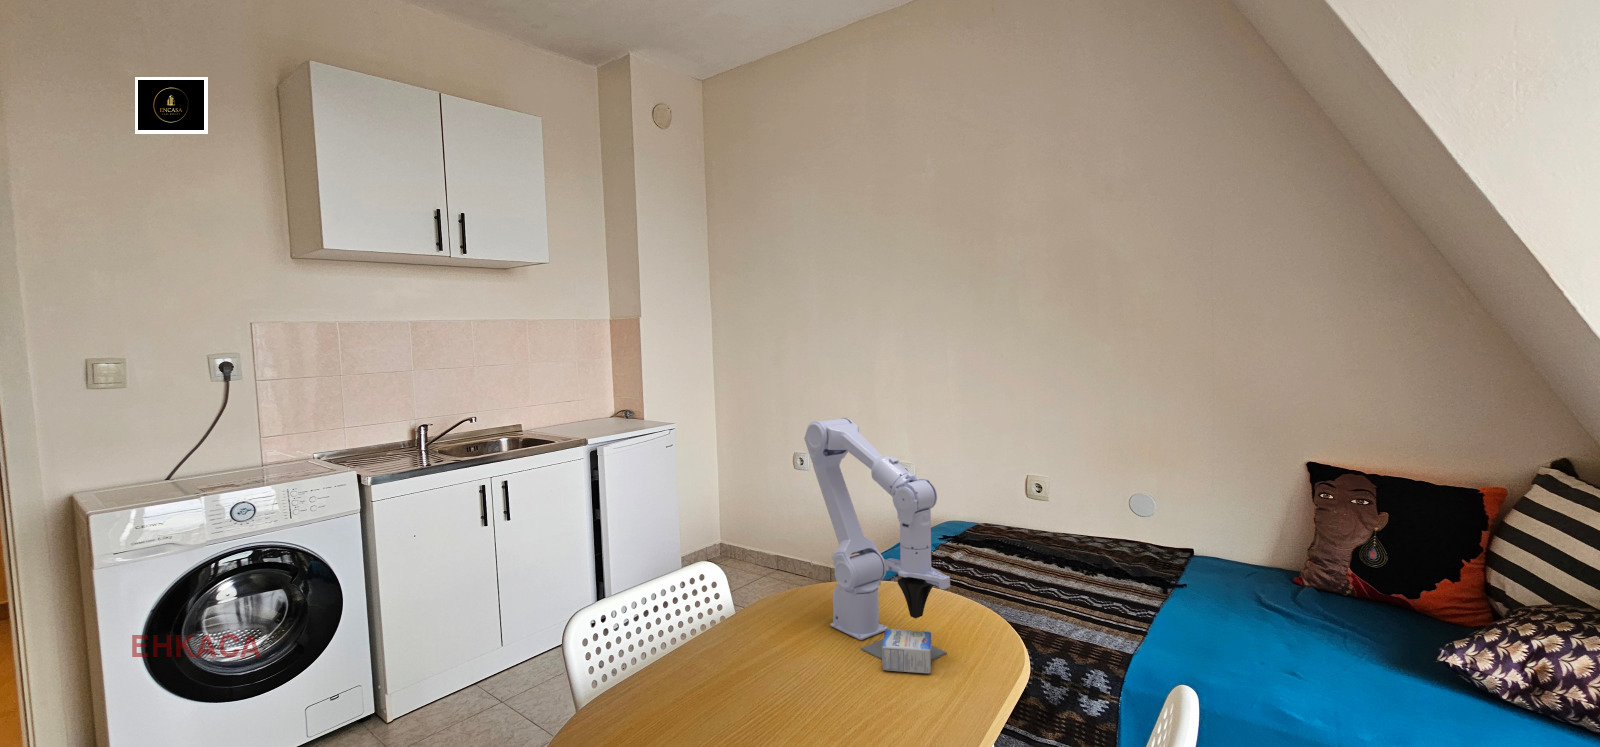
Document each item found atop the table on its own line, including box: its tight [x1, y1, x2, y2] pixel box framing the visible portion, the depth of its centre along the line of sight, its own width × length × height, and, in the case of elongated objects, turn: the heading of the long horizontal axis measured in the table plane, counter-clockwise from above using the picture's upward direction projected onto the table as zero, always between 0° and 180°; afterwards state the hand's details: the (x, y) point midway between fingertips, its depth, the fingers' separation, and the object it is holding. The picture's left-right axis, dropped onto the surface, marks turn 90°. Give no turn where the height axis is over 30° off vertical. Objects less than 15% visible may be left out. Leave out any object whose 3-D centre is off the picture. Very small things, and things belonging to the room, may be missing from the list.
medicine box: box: [881, 628, 932, 674], centre depth 124 cm, size 8×4×9 cm
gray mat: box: [860, 638, 948, 662], centre depth 129 cm, size 12×11×1 cm
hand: (916, 616), depth 128 cm, fingers closed
